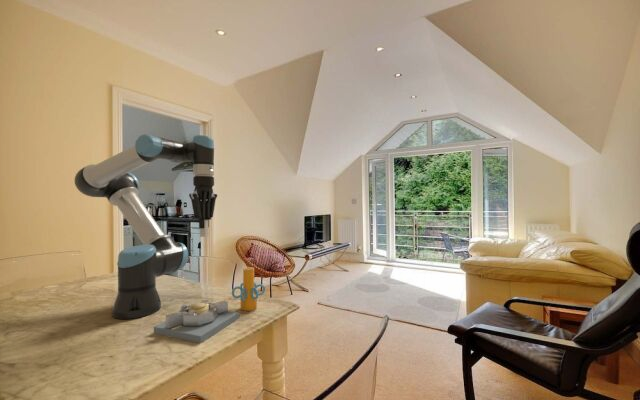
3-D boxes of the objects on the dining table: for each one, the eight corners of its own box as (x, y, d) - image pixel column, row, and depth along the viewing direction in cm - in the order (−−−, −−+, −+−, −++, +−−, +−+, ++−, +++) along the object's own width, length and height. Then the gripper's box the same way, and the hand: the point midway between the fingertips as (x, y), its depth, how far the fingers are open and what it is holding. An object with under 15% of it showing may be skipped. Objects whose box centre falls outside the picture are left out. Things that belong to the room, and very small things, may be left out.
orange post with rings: (254, 315, 101) (254, 273, 101) (227, 313, 103) (227, 271, 103) (268, 303, 113) (268, 265, 113) (243, 301, 115) (243, 264, 115)
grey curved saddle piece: (172, 333, 83) (172, 319, 83) (161, 321, 91) (161, 308, 91) (234, 314, 96) (234, 302, 96) (219, 305, 104) (219, 294, 104)
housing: (153, 333, 88) (153, 311, 88) (197, 311, 105) (197, 293, 105) (200, 343, 82) (200, 320, 82) (238, 318, 99) (238, 299, 99)
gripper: (199, 174, 105) (199, 239, 105) (222, 177, 117) (222, 234, 117) (183, 175, 108) (183, 238, 108) (207, 177, 120) (208, 234, 120)
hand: (204, 236), depth 113 cm, fingers closed
